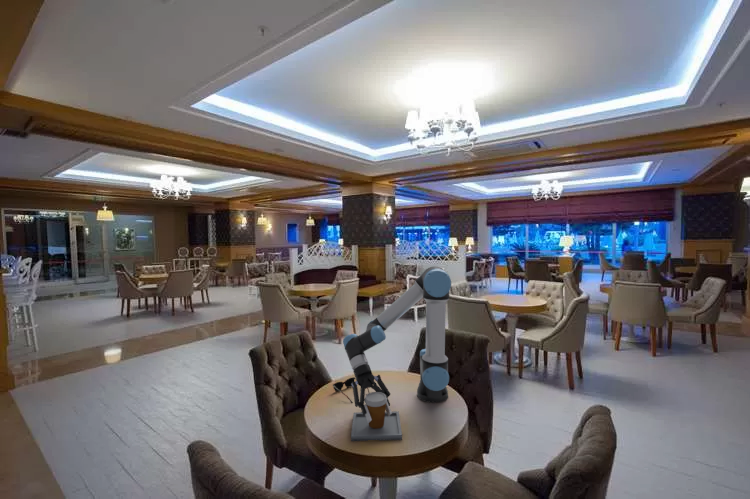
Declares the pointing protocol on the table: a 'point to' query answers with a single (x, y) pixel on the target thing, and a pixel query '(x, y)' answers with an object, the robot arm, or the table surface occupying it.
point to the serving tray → (365, 432)
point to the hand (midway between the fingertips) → (380, 418)
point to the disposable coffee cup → (376, 408)
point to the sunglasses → (348, 382)
